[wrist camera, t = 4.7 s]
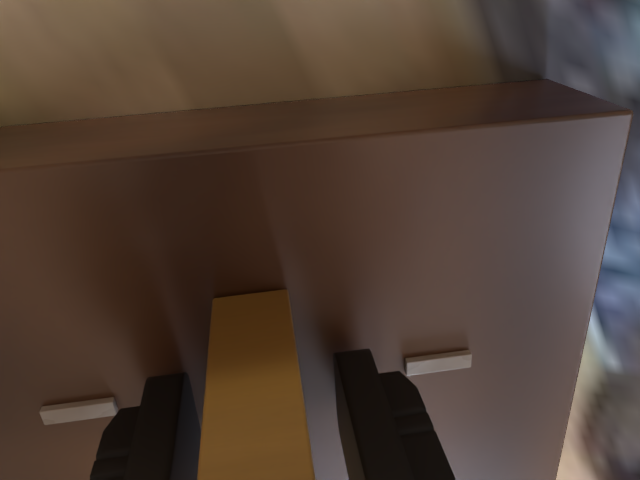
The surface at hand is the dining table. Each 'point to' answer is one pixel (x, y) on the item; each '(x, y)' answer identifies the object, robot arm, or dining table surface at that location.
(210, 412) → the bar
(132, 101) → the dining table surface
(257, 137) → the plate
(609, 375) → the dining table surface
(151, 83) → the dining table surface
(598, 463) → the dining table surface
